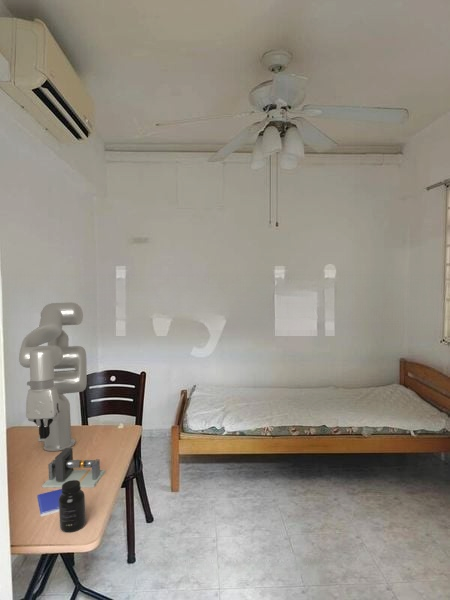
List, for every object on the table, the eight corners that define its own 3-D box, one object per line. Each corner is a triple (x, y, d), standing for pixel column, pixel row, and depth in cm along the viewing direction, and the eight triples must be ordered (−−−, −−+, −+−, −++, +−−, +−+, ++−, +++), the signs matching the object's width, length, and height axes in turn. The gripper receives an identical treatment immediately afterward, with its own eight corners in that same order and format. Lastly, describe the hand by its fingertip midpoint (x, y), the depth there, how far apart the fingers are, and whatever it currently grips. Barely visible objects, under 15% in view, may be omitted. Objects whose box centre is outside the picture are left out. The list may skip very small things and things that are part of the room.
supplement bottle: (64, 519, 116) (62, 478, 116) (88, 518, 117) (87, 477, 116) (56, 534, 109) (54, 490, 109) (82, 532, 110) (80, 489, 110)
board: (42, 487, 136) (42, 484, 136) (57, 472, 147) (57, 469, 146) (93, 487, 135) (93, 484, 135) (105, 472, 146) (105, 469, 146)
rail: (49, 480, 139) (48, 463, 139) (54, 474, 143) (53, 458, 143) (95, 479, 138) (95, 462, 138) (100, 474, 142) (99, 457, 142)
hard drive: (70, 505, 122) (64, 487, 133) (40, 513, 118) (37, 494, 129) (70, 510, 122) (64, 492, 133) (40, 518, 118) (37, 499, 129)
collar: (56, 480, 137) (55, 457, 136) (66, 470, 145) (65, 448, 144) (63, 480, 137) (62, 457, 136) (73, 470, 145) (72, 448, 144)
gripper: (15, 387, 136) (17, 441, 137) (58, 386, 136) (60, 441, 136) (27, 382, 144) (29, 434, 144) (68, 381, 143) (70, 433, 143)
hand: (44, 437), depth 140 cm, fingers closed
